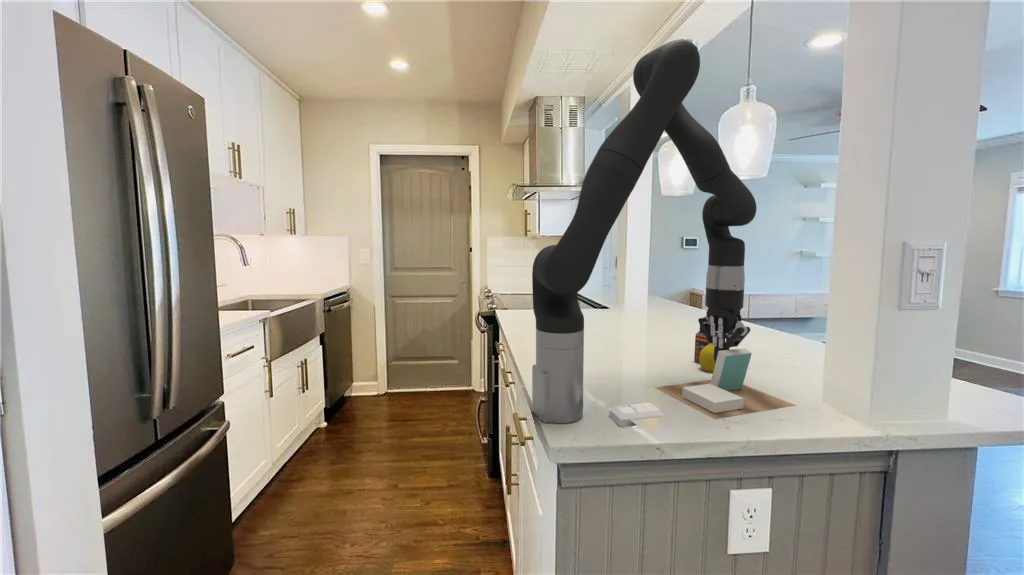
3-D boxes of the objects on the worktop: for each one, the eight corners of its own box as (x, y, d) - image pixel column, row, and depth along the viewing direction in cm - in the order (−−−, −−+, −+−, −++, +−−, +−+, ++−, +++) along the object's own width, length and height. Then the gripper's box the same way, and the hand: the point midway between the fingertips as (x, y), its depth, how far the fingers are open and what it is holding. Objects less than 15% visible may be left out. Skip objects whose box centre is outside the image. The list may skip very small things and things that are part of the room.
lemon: (725, 379, 107) (726, 347, 106) (701, 377, 108) (702, 346, 107) (719, 372, 112) (720, 341, 111) (696, 371, 114) (697, 340, 113)
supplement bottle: (689, 364, 119) (690, 323, 118) (707, 362, 121) (708, 322, 120) (704, 371, 113) (706, 328, 112) (723, 368, 115) (725, 326, 114)
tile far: (716, 392, 94) (726, 355, 91) (709, 387, 96) (718, 350, 93) (742, 389, 97) (752, 352, 94) (734, 383, 99) (744, 348, 96)
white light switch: (665, 424, 83) (665, 410, 82) (620, 429, 81) (621, 415, 80) (651, 414, 87) (651, 401, 87) (609, 418, 86) (609, 405, 85)
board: (714, 425, 81) (714, 418, 81) (654, 392, 98) (654, 387, 98) (795, 411, 87) (795, 405, 87) (725, 382, 104) (725, 377, 104)
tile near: (681, 397, 92) (714, 414, 83) (682, 387, 91) (714, 402, 83) (709, 393, 94) (743, 409, 85) (709, 383, 94) (743, 398, 85)
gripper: (689, 283, 101) (686, 357, 103) (735, 290, 88) (731, 374, 90) (715, 282, 103) (712, 354, 105) (764, 288, 90) (759, 370, 93)
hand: (721, 363), depth 98 cm, fingers closed
